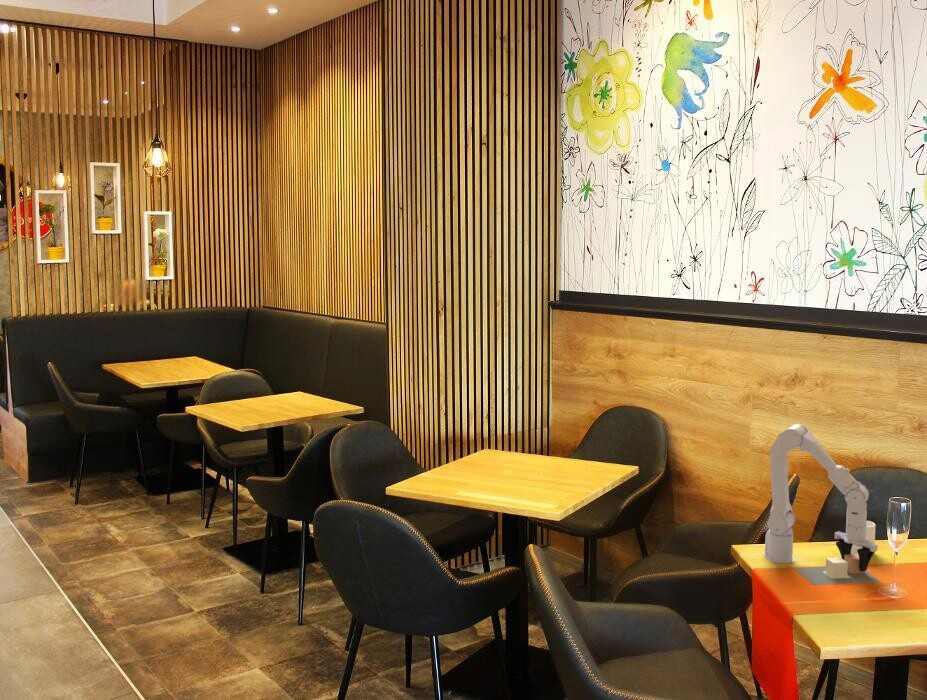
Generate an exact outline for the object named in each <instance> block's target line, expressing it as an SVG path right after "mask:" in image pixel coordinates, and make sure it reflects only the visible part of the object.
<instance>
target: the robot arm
mask: <svg viewBox="0 0 927 700" xmlns="http://www.w3.org/2000/svg"><path fill="white" fill-rule="evenodd" d="M798 447H799V449H798V451H800V452H807V453H810V455H811V456H812V457H813V458H814V459H815V460H816V461H817V462H818V463H819V464H820V465H821V466H822V467H823V468H824V469H825V470H826V471H827V475H828V476H827V478H828V479H829V480H830V481H831V482H832V484H833V485H834V487H836V488H837V489H838V490H839V491H840V492H841V494H843V495H844V500H845V502H846V504H847V505H846V520H845V521H846V522H845V532H842V531H836V532H834V539H835V540H838V541H835V545H836V547H837V548H838V551H839V552H840V553H839V554H840V558H842V559H843V560H844V555H847V554H851V549H852V545H853V544H854V545H857V546H860V547H862V549H857V552H858V555H859V561H860V571H868V566H869V563H870V561H871V559H872V558H873V556H874V555H873V554H875V553H876V552H877V551H878V544H877V543H875V544H874V543H872V542H871V541H869V540H867V539H866V521H868V520H867V518H868V517H867V516H868V511H867V507H868V506H867V505H868V504H867V501H868V499H869V495H870V492H869V489H868V488H867V486H866V485H864V484H862V483H861V482H860V481H858V480H857V479H855V478H854V476H853V475H852V474H851V473H850V472H851V470H850V469H849V468H848V467H846V468H845V466H844V465H840V464H837V463H836V462H835V460H834V459H833V458H832V457H831V456H830V455H829V453H828V452H827V451H826V450H825V448H824V447H823V446H822V445H821V444H820V442H819V441H818V440H817V439H816V437H815V436H814V434H813V433H812V432H811V431H809V430H808V428H807V427H806V426H805V425H803V424H800V423H795V424H792V425H791V426H789V427H788V428H786V429H785V430H783V431H781V432H780V433H779V434H778V435H777V437H776V439H775V440H774V442H773V443H772V445H771V447H770V449H769V457H770V460H769V461H770V477H771V478H770V479H771V481H770V483H771V500H772V502H771V503H772V504H771V507H770V510H769V514H770V516H769V519H768V520H767V527H768V529H767V531H766V533H765V537H764V540H765V541H764V552H761V553H762V554H763V555H764V556H765V557H766V558H767V559H768V560H770V561H771V562H772V563H775V564H777V563H798V560H797V559H796V558H794V557H793V555H794V554H793V552H794V551H793V550H794V547H793V546H794V541H793V540H794V531H793V529H792V526H794V524H795V522H796V516H795V514H794V513H793V510H792V508H793V507H792V504H791V503H790V492H789V471H788V470H789V467H788V454H789V453H790V452H791V451H792V450H794V449H797V448H798Z"/></svg>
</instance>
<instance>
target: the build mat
mask: <svg viewBox="0 0 927 700" xmlns="http://www.w3.org/2000/svg"><path fill="white" fill-rule="evenodd" d="M792 569H793V570H794V571H796V572H797V573H798V574H799V575H801V576H802V577H803V578H804V579H806V580H807V581H808V582H809V583H810V584H812V585H813V586H815V585H816V586H818V585H819V586H822V585H823V586H824V585H842V584H843V585H845V584H864V583H881V582H882V581H881V580H880V579H879V578H877V577H876V576H874V574H871V573H870V572H869V571H868V570H866V571H865V573H857V574H851V573H849V572H848V571H847V577H834V578H833V577H832V576H830V575H829V574H827V573H826V566H815V567H814V566H813V567H811V566H810V567H794V568H792Z"/></svg>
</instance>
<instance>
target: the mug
mask: <svg viewBox="0 0 927 700" xmlns="http://www.w3.org/2000/svg"><path fill="white" fill-rule="evenodd" d="M866 539H867V540H869V541H871V542H872V543H874V544H876V524H875V523H874V522H873V521H871V520H867V521H866ZM857 549H862V547H860V546H857V545H854V544H853V545H852V549H851V554H858V552H857ZM874 554H875V553H874ZM874 554H873V556H874Z"/></svg>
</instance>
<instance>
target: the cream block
mask: <svg viewBox="0 0 927 700" xmlns="http://www.w3.org/2000/svg"><path fill="white" fill-rule="evenodd" d="M825 567H826V573H827V574H829V575H830V576H832V577H833V578H834V577H847V568H848V562H846V561H845V560H843V559H842V557H841V556H839V557H838V556H837V557H826V558H825Z"/></svg>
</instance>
